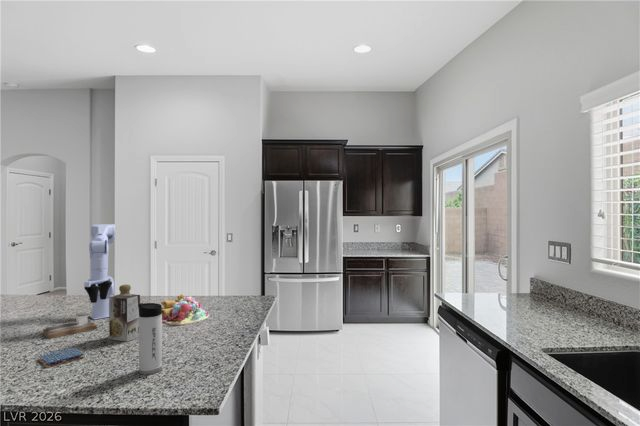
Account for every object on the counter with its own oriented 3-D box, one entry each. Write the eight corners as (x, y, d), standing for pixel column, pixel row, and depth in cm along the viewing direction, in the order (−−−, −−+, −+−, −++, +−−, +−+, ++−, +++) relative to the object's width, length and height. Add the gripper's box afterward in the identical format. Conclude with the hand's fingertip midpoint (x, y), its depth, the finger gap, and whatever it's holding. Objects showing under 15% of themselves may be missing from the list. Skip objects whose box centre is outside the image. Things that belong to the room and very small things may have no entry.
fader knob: (85, 322, 148) (85, 312, 148) (87, 324, 145) (88, 313, 145) (76, 324, 146) (76, 313, 146) (78, 326, 143) (78, 315, 143)
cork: (125, 308, 178) (125, 286, 178) (115, 307, 179) (115, 285, 179) (134, 305, 184) (134, 283, 184) (124, 304, 185) (124, 283, 185)
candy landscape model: (142, 321, 157) (142, 300, 157) (181, 308, 179) (181, 290, 179) (186, 328, 148) (186, 305, 148) (221, 313, 169) (221, 294, 170)
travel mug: (142, 366, 109) (142, 301, 109) (164, 365, 110) (165, 300, 110) (133, 375, 103) (134, 306, 103) (157, 374, 104) (157, 306, 104)
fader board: (89, 323, 152) (89, 318, 152) (96, 329, 145) (96, 322, 145) (42, 333, 140) (43, 326, 140) (48, 339, 133) (48, 332, 133)
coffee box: (141, 336, 136) (141, 294, 136) (126, 342, 130) (127, 298, 130) (122, 334, 139) (123, 292, 139) (108, 339, 133) (108, 296, 133)
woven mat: (74, 351, 123) (75, 345, 123) (85, 359, 116) (85, 353, 116) (37, 361, 114) (37, 354, 114) (46, 370, 108) (46, 363, 108)
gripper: (100, 266, 158) (100, 297, 157) (77, 271, 143) (76, 305, 143) (116, 266, 157) (116, 297, 157) (94, 271, 143) (93, 305, 143)
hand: (98, 300), depth 150 cm, fingers open, 5 cm apart
